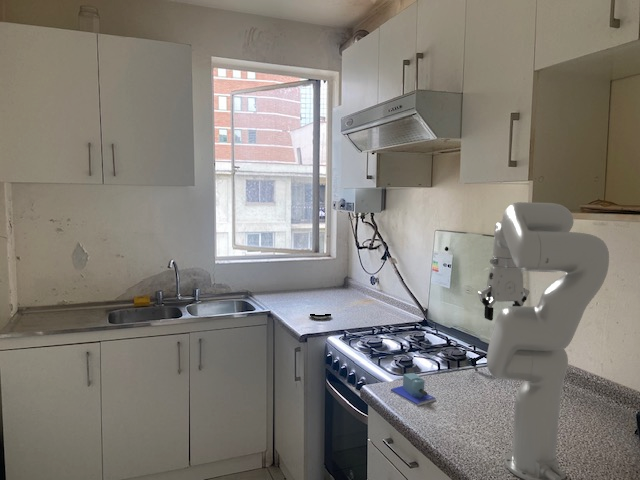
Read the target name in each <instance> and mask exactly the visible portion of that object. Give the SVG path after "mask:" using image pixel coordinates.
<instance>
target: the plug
mask: <svg viewBox="0 0 640 480" xmlns="http://www.w3.org/2000/svg"><path fill="white" fill-rule="evenodd" d="M401 380H402V386H403V389H404V390H405V391H406V392H408V393H409V394H410V395H411V396H412V397H415V398H423V397H424V396H427V394H428V392H427V391H426V390H425V382H426V381H425V380H424V379H423V378H422V377H421V376H419V375H418V374H416V373H415V372H413V373H412V372H410V373H404V374H403V377H401Z"/></svg>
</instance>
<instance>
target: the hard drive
mask: <svg viewBox="0 0 640 480" xmlns="http://www.w3.org/2000/svg"><path fill="white" fill-rule="evenodd" d="M390 392H391V393H393V394H394V395H397V396H398V397H400V398H402V399H403V400H405V401H407V402H408V403H410V402H411V404H413V405H415V406H416V407H420V406H421V405H426V404H428V403H432V402H435V401H436V397H434V396H432V395H429V394H428V393H427V396H424V397H423V398H415V397H412V396H411V395H410V394H409V393H408V392H406V391H405V390H404V389H403V385H401V386H397V387H394V388H391V389H390Z"/></svg>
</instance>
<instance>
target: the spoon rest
mask: <svg viewBox="0 0 640 480" xmlns="http://www.w3.org/2000/svg"><path fill="white" fill-rule="evenodd" d="M329 317H330V315H326V316H314V315H311V318H313V319H316V320H324V319H328V318H329Z"/></svg>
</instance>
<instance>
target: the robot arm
mask: <svg viewBox="0 0 640 480" xmlns="http://www.w3.org/2000/svg"><path fill="white" fill-rule="evenodd" d="M501 220H502V221H497V222H496V224H495V225H494V230H493V231H494V233H493V234H494V235H493V247H492V248H493V249H492V251H493V252H492V258H491V259H489V263H490V264H491V266H490V269H489V273H488V275H487V283H486V287H485V288H483V289H481V290H479V291H478V292H477V296H478V298H479V300H480V302H481V303H482V305H483V306H484V312H483V313H484V319H486V320H487V321H490V322H491V321H493V319H494V307H493V306H494V304H495V303H496V302H499V303H501V302H502V303H503V302H504V303H505V302H513V303H512V305H510V306H506V307H504V308H502V309H501V310H500V311H499V312H498V314H497V316H496V319H495V322H494V325H493V330H492V333H491V336H490V340H489V343H488V348H487V351H486V366H487V370H488V371H489V373H490V374H491V375H492V377H495V378H496V379H499V380H510V381H523V382H522V383H521V385H520V386H519V388H518V389H517V391H516V395H515V403H514V404H515V405H514V417H513V419H514V420H513V432H512V434H513V435H512V449H511V451H509V452H508V453H506V454H505V455H504V465H505V467H506V468H507V470H508V471H509V472H510V473H512V474H513V475H515V476H516V477H518V478H520V479H523V480H564V479H565V478H566V473H565V472H563V469H562V466H560V465H559V463H560V462H559V461H560V460H559V459H558V458H557V448H558V447H557V444H558V431H559V430H558V429H559V420H560V408H561V407H560V406H561V398H562V389H563V385H564V382H565V378H566V375H567V371H568V367H569V366H568V365H569V358H568V354H567V351H566V350H565V349H566V348H567V347H569V345H570V344H571V343H572V341H573V338H574V336H575V333H576V331H577V329H578V327H579V325H580V323H581V320H582V318H583V315H584V312H585V311H586V309H587V307H588V306H589V304H590V303H591V301H592V300H593V298H595V296H596V295H597V294H598V292H599V291H600V289H601V288H602V286H603V284H604V283H605V280H606V278H607V275H608V271H609V265H610V253H609V248H608V245H607V244H606V242H605V241H604V240H603V239H602V238H600V237H598V236H597V235H595V234H594V235H593V234H589V233H586V232H585V233H584V232H577V231H575V232H574V231H573V232H572V231H571V230H572V229H573V226H574V221H575V219H574V216H573V213H572V212H571V211H570V210H569V209H568V208H567V207H565V206H564V205H562V204H559V203H554V202H531V201H530V202H529V201H528V202H525V201H522V202H521V201H520V202H514V203H511V204H510V205H509V206H508V207H506V209H505V210H504V212H503V215H502V219H501ZM523 271H525V272H531V273H532V272H533V273H534V272H537V273H538V272H539V273H563V274H564V275H562V276H560V277H559V278H557V279H555V280H554V281H552V282H551V284H549V285H548V286H547V287H546V288H545V289H544V290H543V292H542V293H541V296H540V299H539V302H538V304H537V305H534V306H524V303H525V302H526V301H527V299H528V298H527V297H529V294H530V290H528V289H527V288H526V287H524V276H523V275H524V274H523Z"/></svg>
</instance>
